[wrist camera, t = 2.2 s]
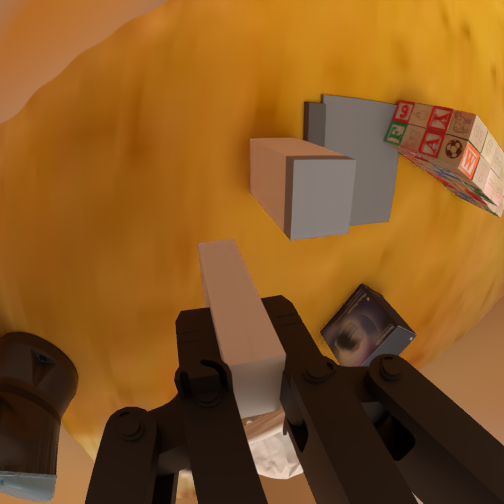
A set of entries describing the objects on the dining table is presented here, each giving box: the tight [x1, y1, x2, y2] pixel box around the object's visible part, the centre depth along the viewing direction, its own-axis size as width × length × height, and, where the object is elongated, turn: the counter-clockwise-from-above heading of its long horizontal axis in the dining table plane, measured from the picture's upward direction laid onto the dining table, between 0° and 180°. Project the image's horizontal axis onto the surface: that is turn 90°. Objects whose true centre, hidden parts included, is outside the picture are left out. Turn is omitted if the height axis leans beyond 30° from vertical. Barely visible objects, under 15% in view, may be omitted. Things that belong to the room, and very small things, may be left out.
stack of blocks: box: [384, 101, 504, 218], centre depth 30 cm, size 21×6×12 cm, turn 68°
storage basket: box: [241, 402, 303, 479], centre depth 44 cm, size 24×16×15 cm
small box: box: [320, 284, 416, 367], centre depth 42 cm, size 11×6×10 cm, turn 145°
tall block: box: [250, 137, 356, 241], centre depth 26 cm, size 5×6×12 cm
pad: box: [304, 95, 399, 226], centre depth 33 cm, size 14×16×1 cm
